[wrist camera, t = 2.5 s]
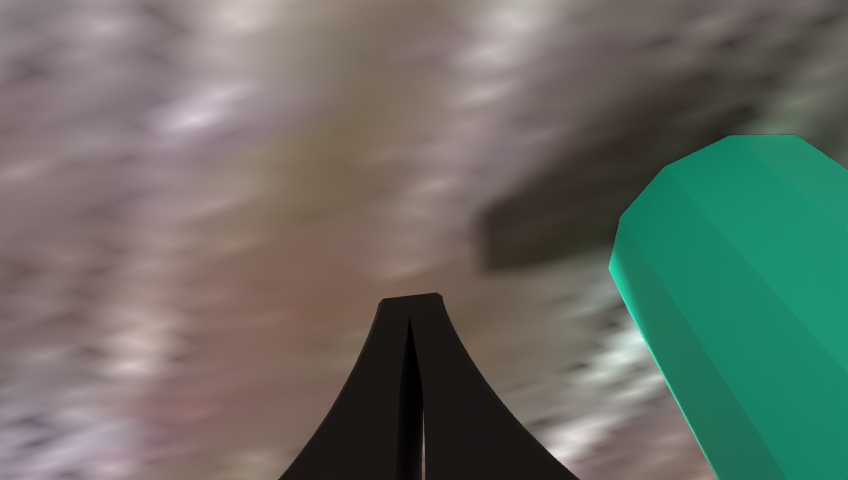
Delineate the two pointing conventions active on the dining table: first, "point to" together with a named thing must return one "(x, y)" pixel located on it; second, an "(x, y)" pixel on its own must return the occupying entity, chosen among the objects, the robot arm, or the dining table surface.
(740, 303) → the candle
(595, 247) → the dining table surface
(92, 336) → the dining table surface
